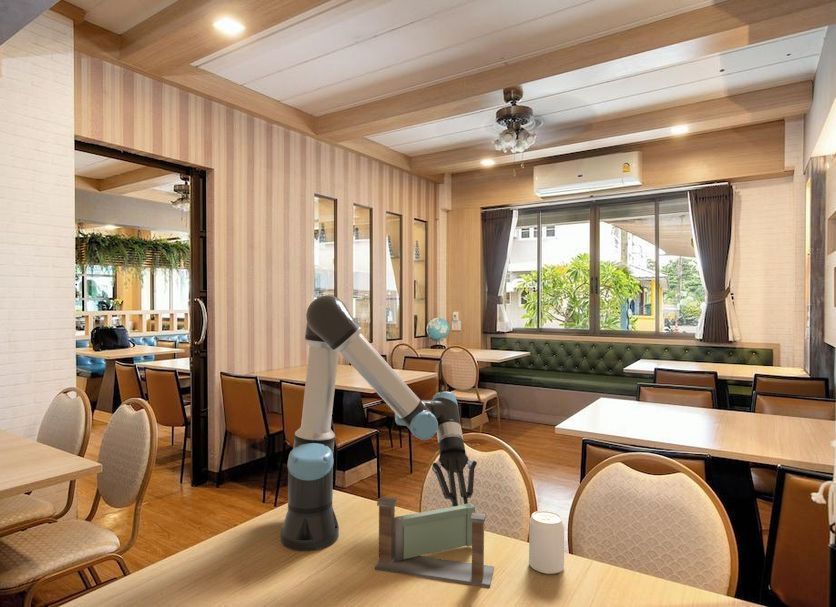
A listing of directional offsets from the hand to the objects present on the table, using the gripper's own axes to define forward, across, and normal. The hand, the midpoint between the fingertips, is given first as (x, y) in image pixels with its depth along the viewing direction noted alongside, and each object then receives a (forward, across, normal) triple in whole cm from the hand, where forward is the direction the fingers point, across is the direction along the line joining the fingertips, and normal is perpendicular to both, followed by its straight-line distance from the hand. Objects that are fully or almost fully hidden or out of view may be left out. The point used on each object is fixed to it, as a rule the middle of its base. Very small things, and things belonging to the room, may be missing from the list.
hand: (462, 523), depth 131 cm
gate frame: (+12, +10, +5) cm, 16 cm away
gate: (+6, +8, +1) cm, 11 cm away
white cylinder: (+13, -17, +6) cm, 23 cm away
